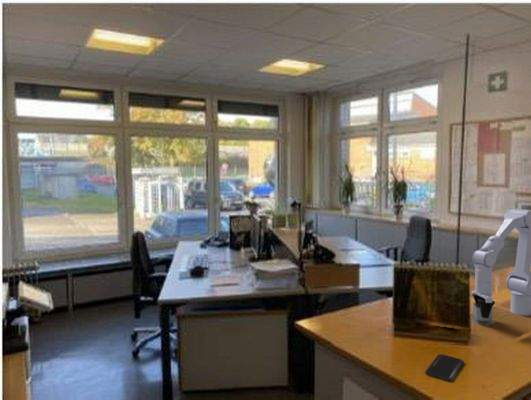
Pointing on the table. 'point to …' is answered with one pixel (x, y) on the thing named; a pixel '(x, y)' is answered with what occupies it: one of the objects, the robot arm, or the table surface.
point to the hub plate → (483, 322)
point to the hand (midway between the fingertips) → (482, 314)
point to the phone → (444, 367)
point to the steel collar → (478, 313)
